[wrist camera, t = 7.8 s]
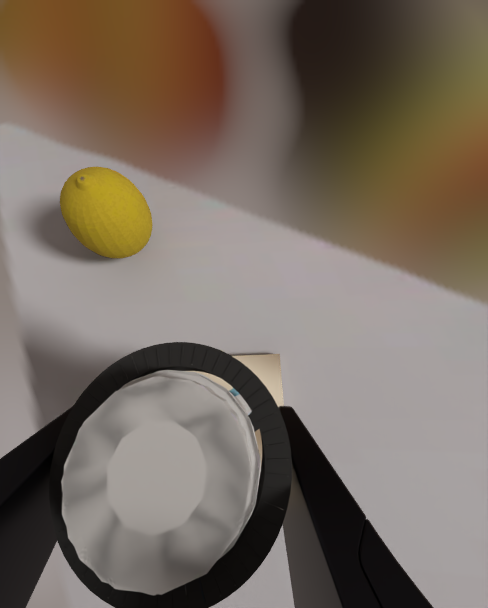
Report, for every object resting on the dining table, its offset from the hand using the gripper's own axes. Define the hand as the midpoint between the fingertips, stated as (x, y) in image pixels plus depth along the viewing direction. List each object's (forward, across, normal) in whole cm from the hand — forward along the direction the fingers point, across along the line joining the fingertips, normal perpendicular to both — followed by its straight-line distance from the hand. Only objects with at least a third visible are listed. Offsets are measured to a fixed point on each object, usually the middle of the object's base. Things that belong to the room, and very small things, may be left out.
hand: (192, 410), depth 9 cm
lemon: (+18, +8, 0) cm, 20 cm away
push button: (+4, 0, +6) cm, 7 cm away
